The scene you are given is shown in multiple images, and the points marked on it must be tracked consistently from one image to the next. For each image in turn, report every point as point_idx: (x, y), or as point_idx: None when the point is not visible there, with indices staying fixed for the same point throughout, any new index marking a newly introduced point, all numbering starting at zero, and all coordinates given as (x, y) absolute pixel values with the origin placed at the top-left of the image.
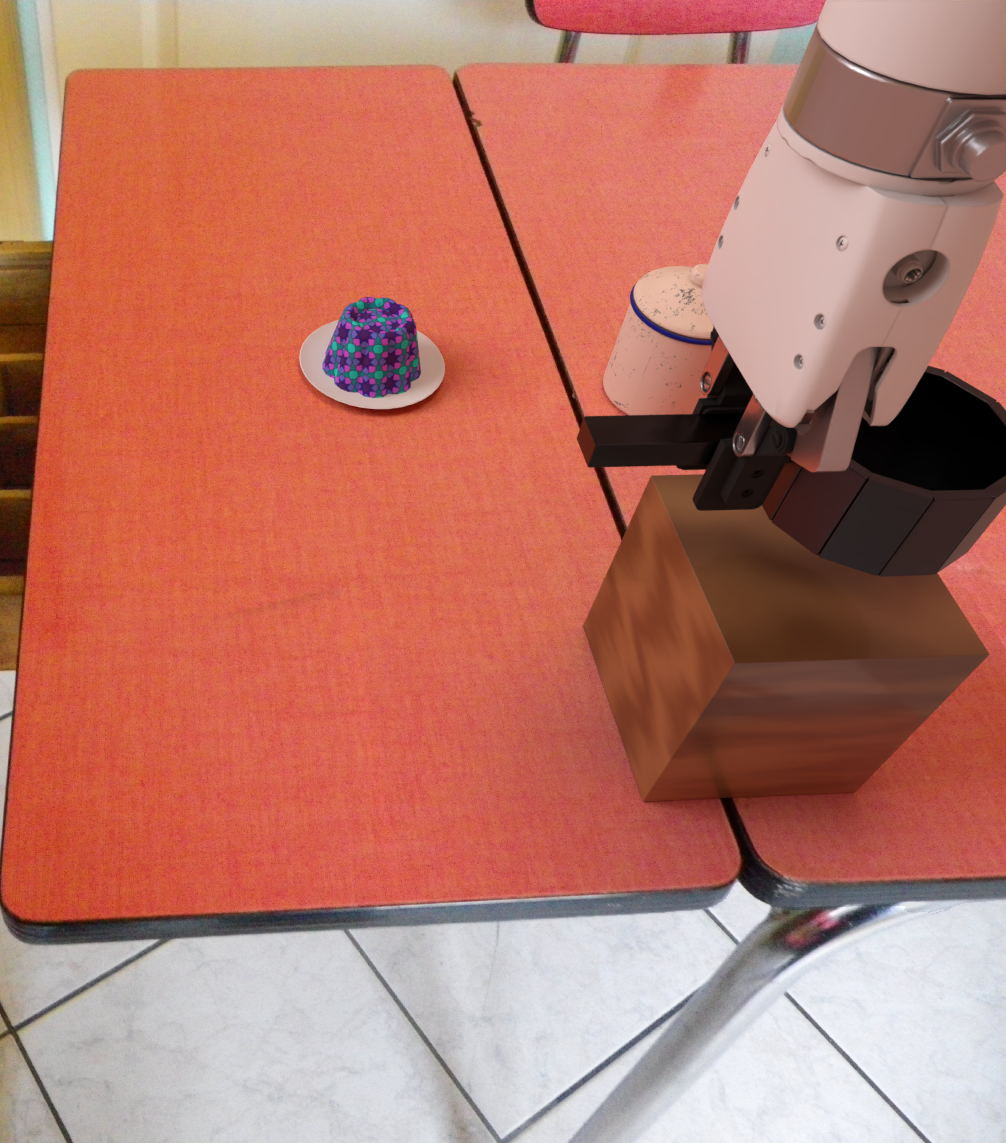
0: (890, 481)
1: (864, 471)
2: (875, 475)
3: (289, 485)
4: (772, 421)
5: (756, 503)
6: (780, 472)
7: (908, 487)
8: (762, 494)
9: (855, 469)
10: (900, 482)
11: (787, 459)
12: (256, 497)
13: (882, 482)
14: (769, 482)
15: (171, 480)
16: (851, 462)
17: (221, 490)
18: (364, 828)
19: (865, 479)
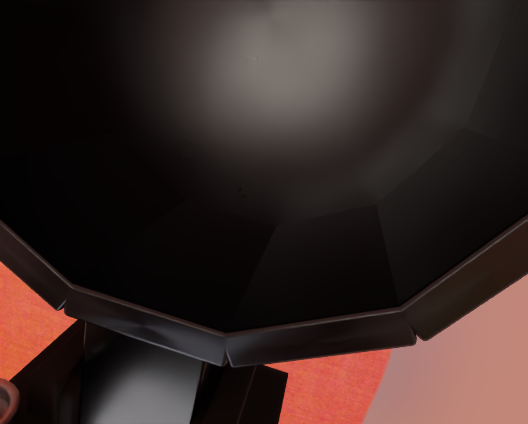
0: (462, 282)
1: (387, 332)
2: (416, 309)
3: (27, 293)
4: (115, 390)
5: (287, 373)
6: (252, 368)
7: (523, 253)
8: (283, 389)
9: (367, 347)
10: (487, 260)
11: (241, 401)
12: (38, 319)
13: (456, 314)
14: (278, 419)
15: (19, 365)
16: (333, 335)
17: (30, 339)
18: (328, 369)
19: (415, 343)
